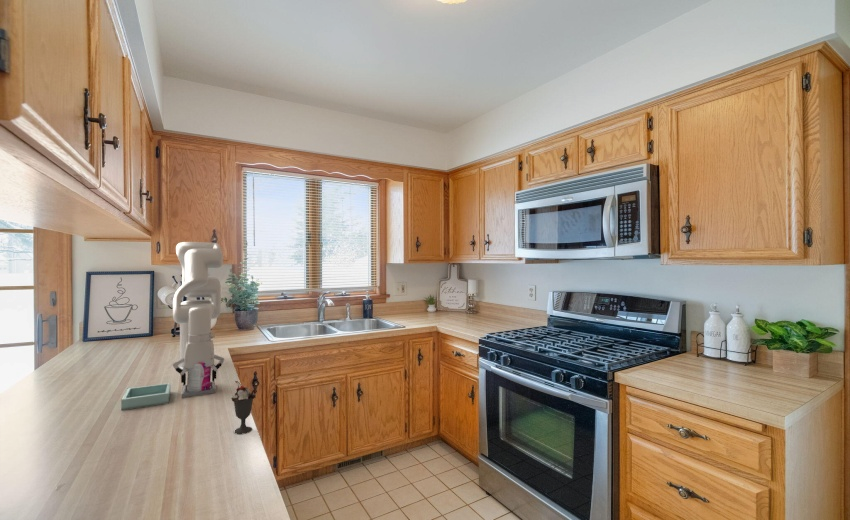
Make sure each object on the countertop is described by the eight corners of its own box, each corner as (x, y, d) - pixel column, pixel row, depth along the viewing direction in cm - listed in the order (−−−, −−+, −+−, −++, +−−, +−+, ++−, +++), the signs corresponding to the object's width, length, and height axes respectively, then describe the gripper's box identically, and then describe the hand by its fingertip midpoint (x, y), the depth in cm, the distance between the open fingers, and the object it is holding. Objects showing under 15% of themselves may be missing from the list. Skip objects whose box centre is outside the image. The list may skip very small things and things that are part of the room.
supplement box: (199, 394, 147) (200, 364, 147) (186, 393, 148) (186, 363, 148) (211, 389, 152) (211, 360, 152) (198, 388, 153) (198, 359, 153)
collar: (182, 389, 152) (182, 385, 152) (214, 385, 157) (214, 381, 157) (181, 397, 142) (181, 393, 142) (215, 393, 148) (215, 389, 148)
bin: (127, 398, 142) (127, 388, 142) (170, 392, 148) (170, 382, 148) (121, 410, 130) (121, 399, 130) (168, 403, 137) (168, 393, 137)
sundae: (226, 430, 116) (227, 380, 116) (249, 424, 120) (250, 375, 120) (235, 437, 111) (236, 385, 111) (258, 430, 116) (259, 380, 116)
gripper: (224, 334, 158) (223, 376, 158) (173, 338, 149) (173, 383, 149) (225, 337, 151) (224, 381, 151) (172, 342, 142) (171, 388, 142)
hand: (199, 382), depth 150 cm, fingers open, 9 cm apart
